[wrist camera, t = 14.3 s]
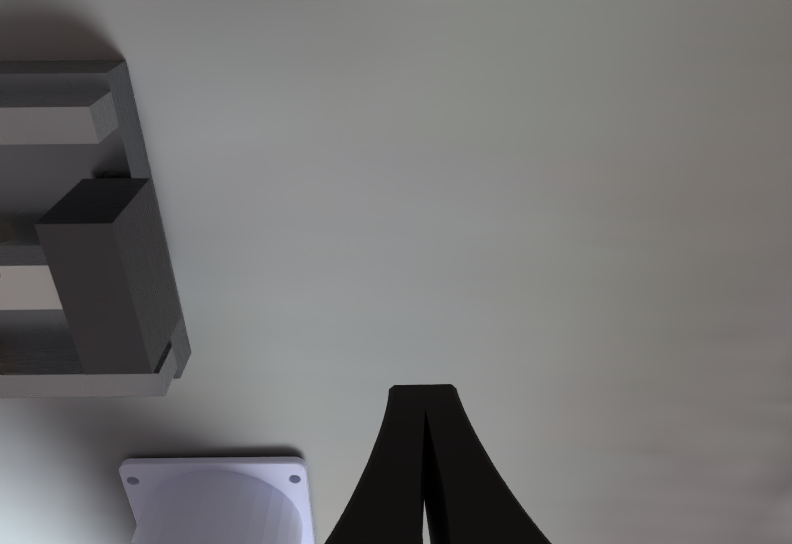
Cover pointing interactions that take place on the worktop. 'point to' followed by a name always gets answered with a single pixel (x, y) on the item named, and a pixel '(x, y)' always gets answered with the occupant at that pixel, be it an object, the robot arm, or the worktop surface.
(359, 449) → the worktop surface
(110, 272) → the press ram
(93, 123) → the press frame
